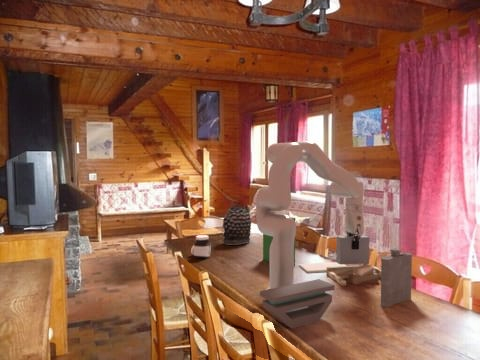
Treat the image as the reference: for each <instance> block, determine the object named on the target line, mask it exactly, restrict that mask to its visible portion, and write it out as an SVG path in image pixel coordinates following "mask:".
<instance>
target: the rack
mask: <svg viewBox="0 0 480 360" xmlns="http://www.w3.org/2000/svg"><path fill="white" fill-rule="evenodd" d="M361 265H362V264H355V265H346V266H338V267H327V272H326V275H327V276H328V277H329V278H330V279H332V280H334V281H335V282H336V283H338V284H339V285H340V286H342V287H345V286H347V280H348V274H349V273H353V268H354V267H357V266H361ZM370 265H371V266H373V272H375V273H377V274H378V279H380V280H381V268H379V267H377V266H375V265H373V264H370Z"/></svg>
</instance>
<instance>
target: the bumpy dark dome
mask: <svg viewBox="0 0 480 360" xmlns="http://www.w3.org/2000/svg"><path fill="white" fill-rule="evenodd" d="M251 208H252V206H251V205H250V204H246V205H243V204H242V205H233V204H231V205H230V208H229V209H228V210H227V212H226V214H224V218H223V221H222V227H223V233H222V237H223V238H224V239H223V243H224V245H230V246H231V245H234V246H235V245H242V244H247V243H250V241H251V238H250V236H251V232H252V231H251V229H252V227H251V226H252V218H251Z"/></svg>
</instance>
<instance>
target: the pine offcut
mask: <svg viewBox="0 0 480 360" xmlns="http://www.w3.org/2000/svg"><path fill="white" fill-rule="evenodd" d="M360 265H361V266H357V267H354V268H353V275H357V276H360V277H362V276H365V275H368V274H371V273H373V266H374V265H373V266H371V265H372V264H360Z"/></svg>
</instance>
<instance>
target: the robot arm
mask: <svg viewBox="0 0 480 360" xmlns="http://www.w3.org/2000/svg"><path fill="white" fill-rule="evenodd" d="M265 154H266V158H267V160H268V161H269V162H270V163H272V164H271V166H270V168H269V171H268V185H266V186H265V185H263V187H261V188H259V189H258V191H257V193H256V196H255V214H256V215H255V216H256V217H255V218H256V225H257V230H258V231H259V232H260V233H262V235H263V234H265V235H268V236H272V237H273V240H272V242H271V245H270V253H269V255H270V262H269V287H267V288H266V289H265V290H268V289H273V288H278V287H283V286H288V285H292V284H295V283H294V282H295V281H294V279H295V278H294V274H295V273H294V271H295V270H294V266H295V265H294V239H295V240H296V233H297V223H296V220H295V221H294V219H293V218H294V217H293V218H291V216H290V215H287V214H285V213H283V214H282V213H277V212H286V211H288V210H289V209H290V207H291V204H292V192H291V191H292V190H291V174H292V171H293V168H294V167H295V166H296V164H298V163H300V162H301V163H305V164H306V165H307V166H308V167H309V168H310V169H311V170H312V172H314V173H315V175H316V176H317V177H319V178H320V179H323V180H325V181H328V182H331V183H330V185H329V193H330V194H331V196H333V197H336V198H342V199H343V198H344V199H345V210H344V211H345V215H344V216H345V217H344V230H345V231H344V232H346V236H353V240H352V249H353V250H355V249H359V241H360V237H361V236H363V234H364V231H365V226H364V225H365V224H364V220H365V219H364V213H363V212H364V211H363V207H364V206H363V205H364V182H363V181H359V180H358V179H357V178H356V176H354V175H353V174H352V173H351V172H350V171H348V170H347V169H345V168H344V167H342V166H340V165H339V164H337V163H334V162H333V161H332V160H331V159H330V158H329V157H328V155H327V153H325V152H324V150H323V149H322V148H321V147H320V146H319V145H318V144H317V143H316V142H314V141H312V140H311V141H309V140H308V141H307V140H306V141H295V142H279V143H273V144H271V145H269V146H268V147H267V150H266V153H265Z"/></svg>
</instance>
